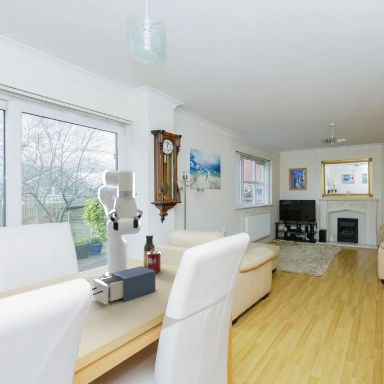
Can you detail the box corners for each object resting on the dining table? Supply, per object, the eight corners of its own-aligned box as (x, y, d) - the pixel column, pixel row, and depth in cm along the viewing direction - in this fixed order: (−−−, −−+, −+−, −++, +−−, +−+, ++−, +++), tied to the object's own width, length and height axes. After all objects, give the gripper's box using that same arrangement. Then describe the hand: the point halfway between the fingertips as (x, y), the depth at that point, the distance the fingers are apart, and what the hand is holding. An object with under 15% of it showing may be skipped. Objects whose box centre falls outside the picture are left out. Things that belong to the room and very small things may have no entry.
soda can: (152, 276, 144) (152, 254, 144) (144, 273, 148) (144, 252, 148) (163, 272, 150) (163, 252, 150) (155, 270, 154) (155, 250, 154)
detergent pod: (102, 295, 113) (102, 285, 113) (113, 292, 116) (113, 282, 116) (106, 298, 110) (106, 287, 110) (117, 294, 114) (117, 284, 114)
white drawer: (89, 309, 102) (89, 290, 102) (78, 301, 109) (78, 283, 109) (137, 294, 117) (137, 277, 117) (125, 288, 124) (125, 272, 124)
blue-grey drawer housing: (124, 301, 112) (124, 279, 112) (111, 293, 120) (111, 273, 120) (155, 290, 123) (155, 270, 123) (141, 284, 131) (141, 265, 131)
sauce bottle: (153, 268, 157) (154, 236, 157) (142, 269, 156) (142, 236, 156) (155, 265, 164) (155, 234, 163) (144, 266, 162) (144, 234, 162)
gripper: (139, 194, 139) (138, 226, 139) (104, 195, 125) (104, 230, 126) (146, 195, 135) (146, 228, 135) (111, 195, 121) (111, 232, 121)
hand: (126, 229), depth 130 cm, fingers open, 9 cm apart
